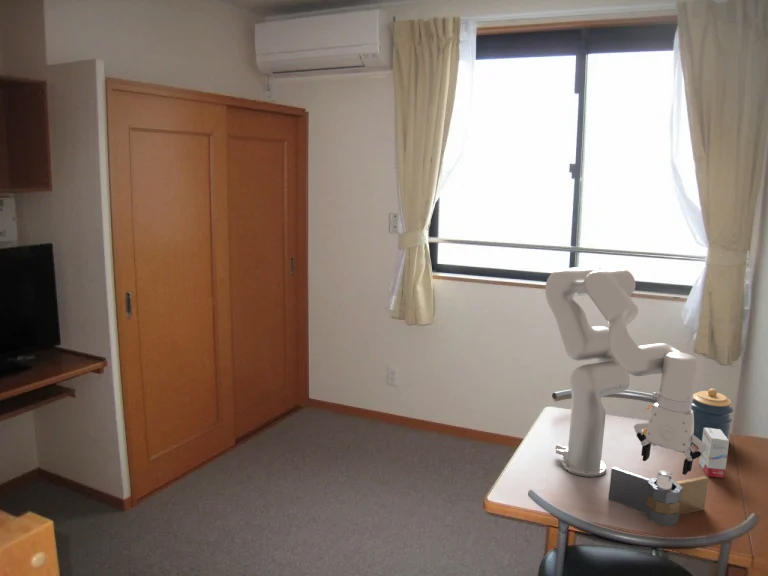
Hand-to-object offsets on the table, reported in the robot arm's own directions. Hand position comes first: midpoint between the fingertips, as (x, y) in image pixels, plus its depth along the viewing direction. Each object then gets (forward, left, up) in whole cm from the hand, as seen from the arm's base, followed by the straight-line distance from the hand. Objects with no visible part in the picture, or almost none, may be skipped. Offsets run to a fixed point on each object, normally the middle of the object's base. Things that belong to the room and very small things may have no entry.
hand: (665, 465), depth 160 cm
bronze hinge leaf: (+3, +4, -14) cm, 15 cm away
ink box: (+4, +36, -14) cm, 39 cm away
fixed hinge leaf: (-4, 0, -14) cm, 15 cm away
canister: (-3, +58, -14) cm, 59 cm away
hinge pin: (0, 0, -14) cm, 14 cm away
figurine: (-17, +47, -14) cm, 52 cm away
